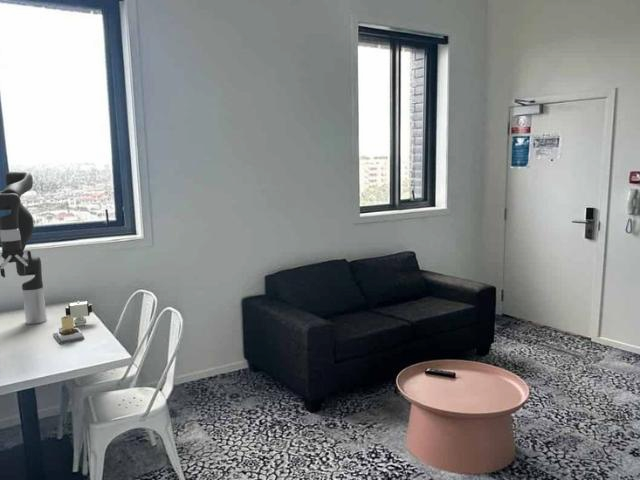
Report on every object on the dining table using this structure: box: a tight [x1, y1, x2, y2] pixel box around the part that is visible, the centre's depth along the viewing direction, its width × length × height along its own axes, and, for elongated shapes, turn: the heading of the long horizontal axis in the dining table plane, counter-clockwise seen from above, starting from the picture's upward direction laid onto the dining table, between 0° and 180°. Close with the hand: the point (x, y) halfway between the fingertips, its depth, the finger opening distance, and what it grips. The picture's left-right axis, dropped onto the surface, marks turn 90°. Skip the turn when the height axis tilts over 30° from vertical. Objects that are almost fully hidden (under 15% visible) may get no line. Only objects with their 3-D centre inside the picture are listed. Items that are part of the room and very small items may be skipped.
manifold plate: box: [52, 327, 85, 345], centre depth 237 cm, size 15×10×3 cm, turn 37°
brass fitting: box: [60, 315, 75, 336], centre depth 235 cm, size 5×5×9 cm
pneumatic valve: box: [64, 300, 93, 327], centre depth 256 cm, size 6×12×12 cm, turn 114°
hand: (15, 275), depth 231 cm, fingers open, 8 cm apart
